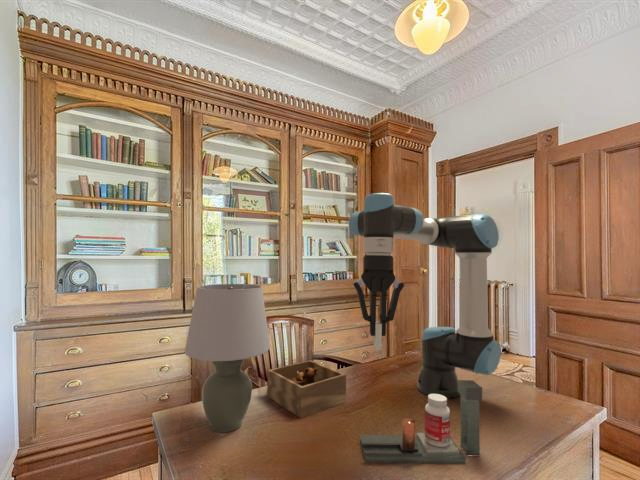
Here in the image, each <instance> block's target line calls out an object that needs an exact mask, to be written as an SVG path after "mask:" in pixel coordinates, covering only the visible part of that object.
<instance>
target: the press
mask: <svg viewBox="0 0 640 480" xmlns="http://www.w3.org/2000/svg"><path fill="white" fill-rule="evenodd" d="M458 392H459V393H460V448H461V447H462V448H463V449H462V448H461V449H462V451H463V452H464V451H465V452H466V453H465V452H464V453H465V454H466V456H467V455H480V454H481V452H480V449H481V448H480V446H481V445H480V439H481V437H480V431H481V430H480V401H483V387H482V386H480V385H479V384H478V383H477V382H476V381H475V380H469V379H467V380H465V379H462V380H461V379H458ZM402 438H403V434H400V435H399V434H394V435H393V434H360V443H361V448H362V452H363V453H362V454H363V457H364V461H365V463H376V464H378V463H384V464H385V463H386V464H387V463H388V464H390V463H391V464H394V463H395V464H396V463H397V464H398V463H399V464H466V456H465V455H464V454H463V452H462V451H461V450H460V448H459V447H458V445H457V444H456V442H455V441H454V440H453V439H452V437H451V436H450V444H449V445H448V446H446V447H437V446H433V445H431V444H429V443H428V442H427V441H426V439H425V432H416V434H415V444H416V446H417V448H418V452H401V450H400V448H399V443H402ZM480 456H481V455H480Z"/></svg>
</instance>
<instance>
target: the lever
mask: <svg viewBox="0 0 640 480" xmlns="http://www.w3.org/2000/svg"><path fill="white" fill-rule="evenodd" d="M402 435H403V438H402V443H399V448H400V450H401V452H418V448H417V446H416V444H415V435H416V421H415V420H414V419H412V418H403V419H402Z"/></svg>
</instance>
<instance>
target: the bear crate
mask: <svg viewBox="0 0 640 480" xmlns="http://www.w3.org/2000/svg"><path fill="white" fill-rule="evenodd" d="M307 367H308V368H313V369H314V368H315V367H316V368H317V371H316V375H315V377H314V379H315V383H312V384H308V385H305V386H301V385H299V384H297V383H295V382H293V381H292V379H293V378H296V379H297V371H298V373H299V372H303V373H304V372H305V369H306V368H307ZM266 381H267V384H266V385H267V386H266V387H267V388H266V397H268V398H269V399H270V400H273V401H274V402H276V403H277V404H279V405H280V406H282V407H283V408H284V409H286V410H287V411H289V412H291V413H292V414H294V415H295V416H297V417H298V418H300V419H302V418H305V417H308V416H310V415H313V414H315V413H319V412H322V411H324V410H327V409H329V408H332V407H335V406H338V405H341V404H344V403H346V402H347V374H346V373H343V372H341V371H338V370H336V369H333V368H331V367H329V366H325V365H323V364H321V363H318V362H317V361H314V360H311V359H309V360H305V361H300V362H296V363H292V364H287V365H283V366H279V367H274V368H271V369H267V380H266Z"/></svg>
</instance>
